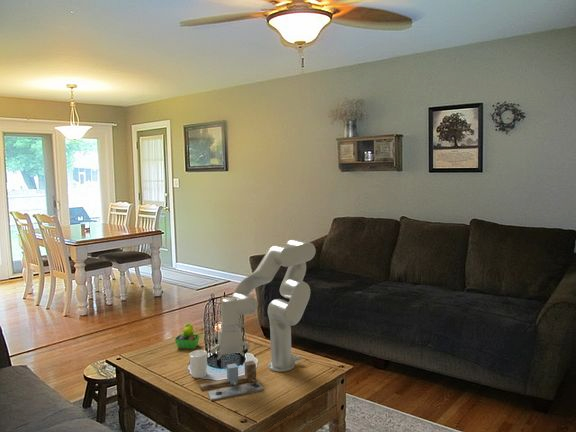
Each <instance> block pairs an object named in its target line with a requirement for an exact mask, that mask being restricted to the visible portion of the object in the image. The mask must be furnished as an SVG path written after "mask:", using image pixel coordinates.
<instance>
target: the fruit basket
mask: <svg viewBox="0 0 576 432" xmlns="http://www.w3.org/2000/svg"><path fill="white" fill-rule="evenodd" d="M194 332H195V331H194V325H192V323H189V322H188V323H186V325H185V326H184V328H183V330H182V333H183V334H179V335H177V336H176V337H175V338H174V340H175V343H176V346H177V348H178V349H191V350H192V349H193V350H194V349H196V347H197V346H198V345H199V340H200V336H201V334H194Z"/></svg>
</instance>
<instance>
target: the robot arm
mask: <svg viewBox="0 0 576 432" xmlns="http://www.w3.org/2000/svg"><path fill="white" fill-rule="evenodd" d="M316 251H317V249H316V247H315V245H314V244H313V243H312V242H309V241H305V240H300V239H293V238H292V239H289V240H288V241H286V243H285V245H284V246H283V245H277V244H276V245H272V246H270V247H269V249H268V250H267V251H266V253H265V254H264V256H263V257H262V259H261V261H260V262H259V264H258V266H257V267H256V269H254V271H253V272H252V273H250V274H249V275H248V276H247V277H245V278H244V279H243V280H241V281H240V283H239V284H238V285H237V287H236V288H235V289H234V291H233V293H232V294H231V297H225V298H223V299H221V301H220V302H221V303H220V312H221V314H220V315H221V320H220V321H221V322H220V323H221V324H220V327H221V328H220V329H219V331H218V337H217V344H216V345H215V346H212V347H211V348H210V349H209V351H210V352H211V354H212V356H213V357H214V358H215V360H216V367H218V369H222V365H221V364H222V360H221V358H222V357H223V356H225V355H233V354H239V365H240V366H244V362H245V356H246V354H247V353H248V352H249V349H250V347H251V344H250V343H248V342H245V341H243V337H242V331H241V327H243V322H240V316H241V315H252V314H254V313H256V311H257V310H258V308H259V303H258V300H257V299H256V298H254V297H252V296H250V294H251V293H252V292H253V290H255V289H256V288H258V287H260V286H262V285H266V284H269V283H270V282H272V281H273V279H274V277H275V276H276V274H277V272H278V271H279V269H281V266H282V267H285V268H287V270H286V272H285V275H284V277H283V280H282V281H281V284H280V287H279V293H280V295H281V296H282V297H283V298H285V299H289V301H287V300H284V299H281V298H276V299H272V300H271V301H270V303H269V304H268V306H267V316H268V320H269V329H270V330H269V331H270V332H269V333H270V334H269V335H270V361H268V363H267V368H268V369H269V370H270V371H273V372H280V373H281V372H282V373H283V372H289V371H291V370H293V369H294V368H295V367H296V361H302V356H301V355H298V356H297V354H292V327H291V326H295V325H297V324H298V323H299V322H300V321H301V319H302V317H303V315H304V312H305V310H306V307H307V305H308V304H309V303H308V302H309V301H310V298H311V288H310V285H309V284H308V283H307V282H305V281H304V277H305V276H306V272H307V262H309V261H311V260H312V259H313V258H315V255H316ZM243 346H244V349H243ZM215 351H218V352H217V353H216V352H215Z"/></svg>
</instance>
